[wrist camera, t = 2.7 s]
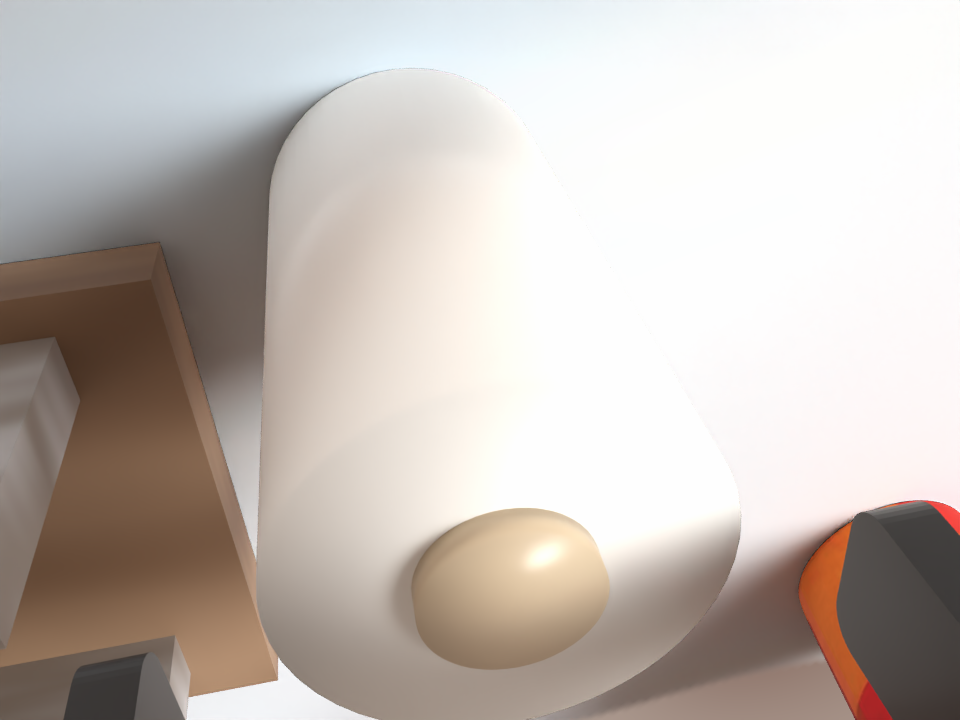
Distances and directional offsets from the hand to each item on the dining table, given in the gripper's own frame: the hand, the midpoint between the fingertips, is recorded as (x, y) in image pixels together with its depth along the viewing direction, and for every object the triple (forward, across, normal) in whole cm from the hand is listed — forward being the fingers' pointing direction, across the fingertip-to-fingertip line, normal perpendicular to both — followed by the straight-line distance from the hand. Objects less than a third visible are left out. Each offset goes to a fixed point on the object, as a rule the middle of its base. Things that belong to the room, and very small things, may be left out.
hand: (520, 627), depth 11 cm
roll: (+10, 0, -1) cm, 10 cm away
